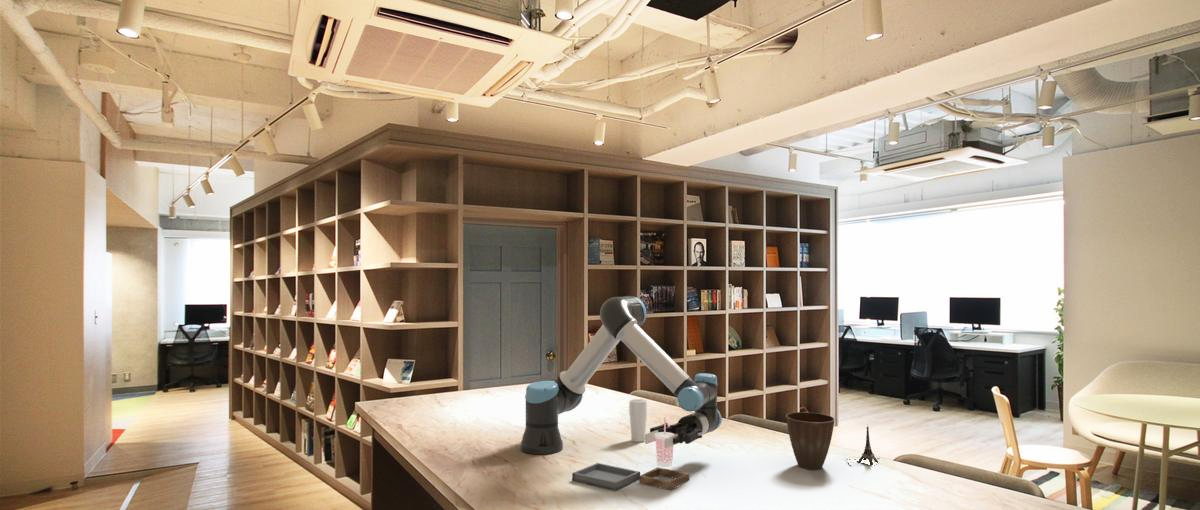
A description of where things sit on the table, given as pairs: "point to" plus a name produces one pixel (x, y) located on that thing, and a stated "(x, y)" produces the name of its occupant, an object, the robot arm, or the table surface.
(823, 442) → the plant pot
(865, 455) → the eiffel tower figurine
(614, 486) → the tray
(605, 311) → the robot arm
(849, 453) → the table surface
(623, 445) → the table surface
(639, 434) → the white tumbler
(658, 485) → the holder
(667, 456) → the beverage cup
